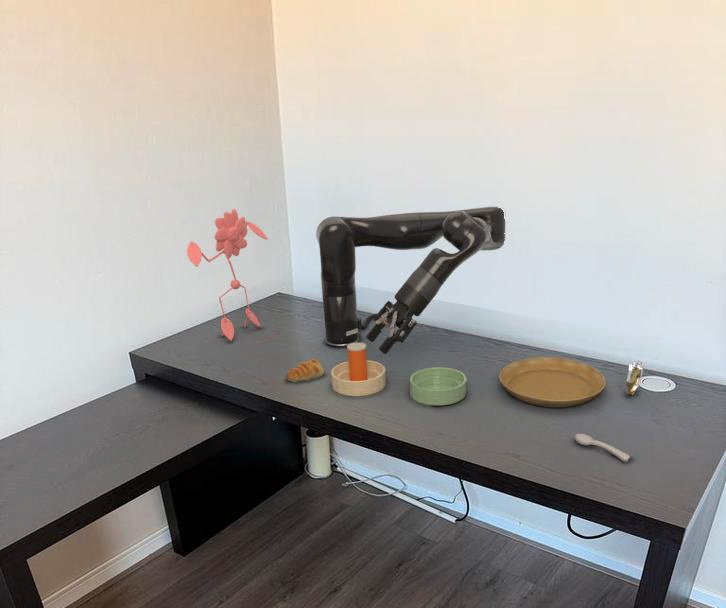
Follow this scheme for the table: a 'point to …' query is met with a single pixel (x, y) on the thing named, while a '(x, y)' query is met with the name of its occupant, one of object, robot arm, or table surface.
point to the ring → (637, 374)
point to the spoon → (588, 440)
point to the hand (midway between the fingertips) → (375, 345)
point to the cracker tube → (357, 361)
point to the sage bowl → (438, 386)
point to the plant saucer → (552, 381)
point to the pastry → (305, 371)
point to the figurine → (231, 242)
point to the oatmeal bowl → (358, 388)
